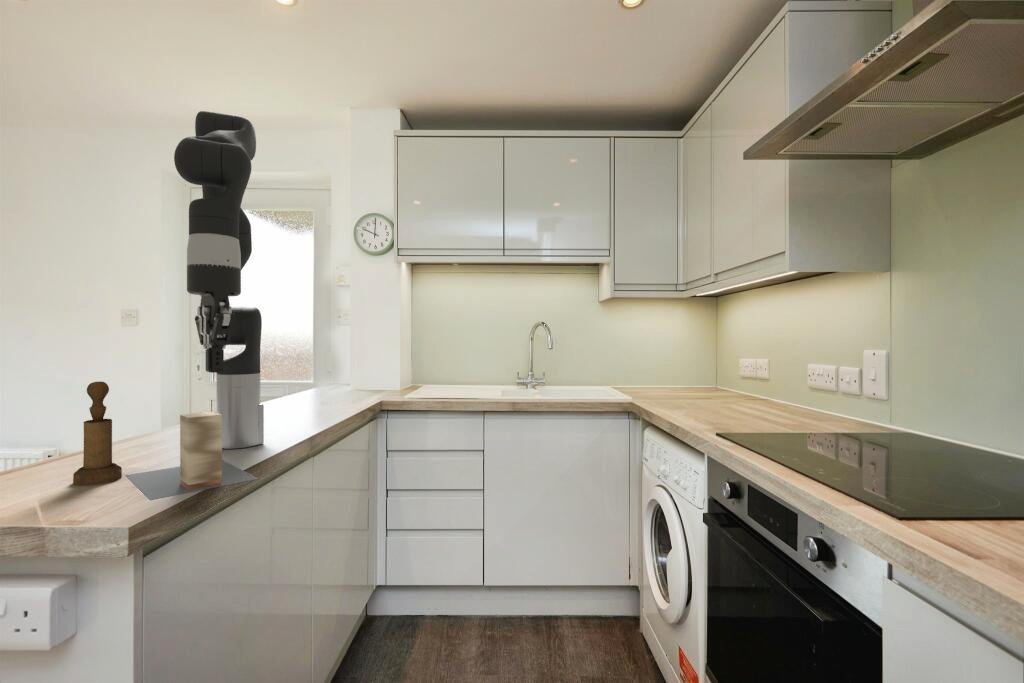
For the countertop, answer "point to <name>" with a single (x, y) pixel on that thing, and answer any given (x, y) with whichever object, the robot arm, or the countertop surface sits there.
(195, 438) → the maple block
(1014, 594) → the countertop surface
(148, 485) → the slate mat
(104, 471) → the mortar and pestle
